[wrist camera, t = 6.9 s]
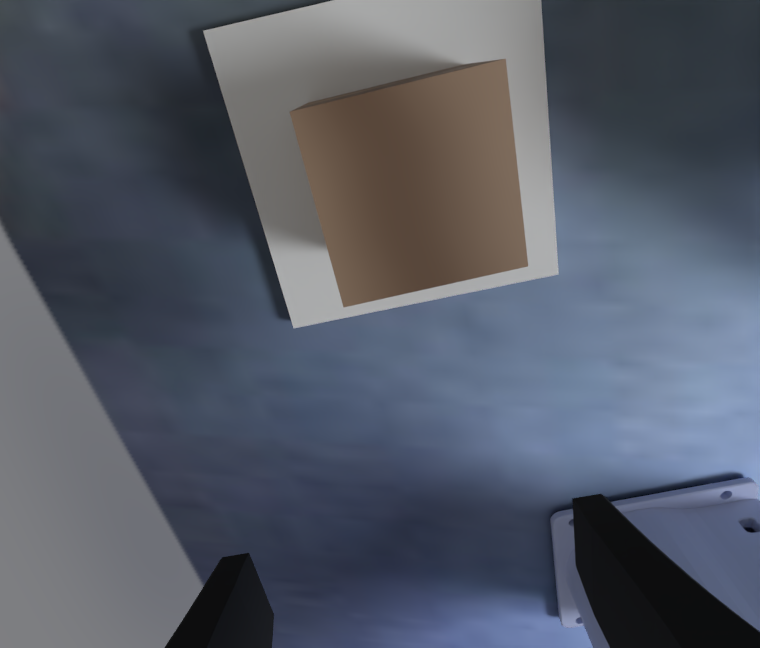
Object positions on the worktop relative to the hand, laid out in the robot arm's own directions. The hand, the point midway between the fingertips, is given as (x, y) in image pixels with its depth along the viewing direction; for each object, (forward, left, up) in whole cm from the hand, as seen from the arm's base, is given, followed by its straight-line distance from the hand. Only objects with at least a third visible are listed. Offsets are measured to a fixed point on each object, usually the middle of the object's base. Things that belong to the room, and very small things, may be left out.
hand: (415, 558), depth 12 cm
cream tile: (-2, -7, -10) cm, 12 cm away
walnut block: (-2, -7, -10) cm, 12 cm away
